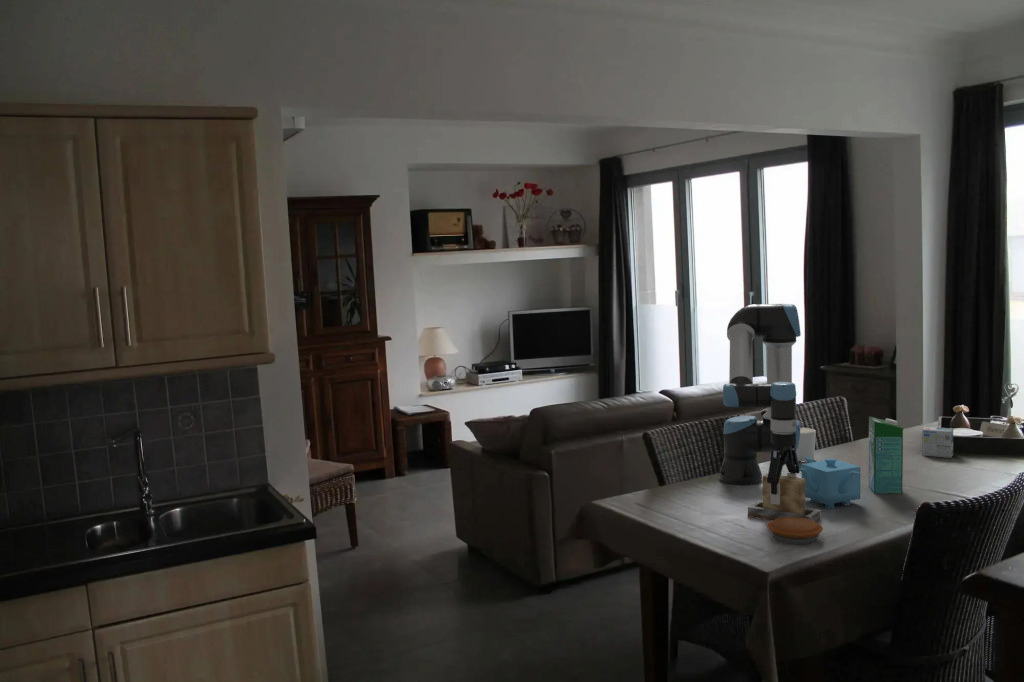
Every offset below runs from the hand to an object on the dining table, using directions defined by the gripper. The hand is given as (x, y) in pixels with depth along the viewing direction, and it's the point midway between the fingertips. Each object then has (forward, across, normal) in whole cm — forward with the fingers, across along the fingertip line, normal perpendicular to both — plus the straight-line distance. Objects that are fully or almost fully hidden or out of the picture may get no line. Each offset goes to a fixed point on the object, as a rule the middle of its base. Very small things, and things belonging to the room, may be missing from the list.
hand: (783, 498), depth 264 cm
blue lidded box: (+6, +23, -6) cm, 25 cm away
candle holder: (+6, +75, +22) cm, 79 cm away
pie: (+7, -16, -10) cm, 20 cm away
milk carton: (+6, +48, -17) cm, 51 cm away
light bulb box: (+6, +109, -20) cm, 111 cm away
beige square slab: (+5, 0, 0) cm, 5 cm away
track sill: (+6, 0, 0) cm, 6 cm away
